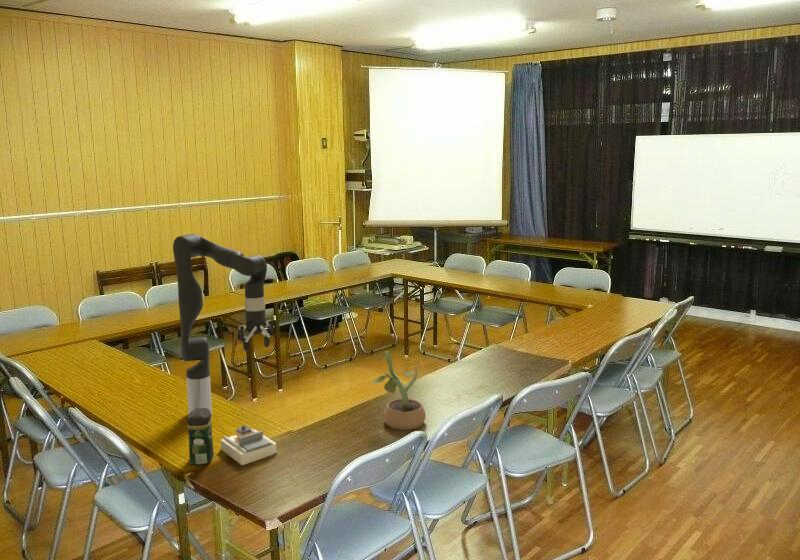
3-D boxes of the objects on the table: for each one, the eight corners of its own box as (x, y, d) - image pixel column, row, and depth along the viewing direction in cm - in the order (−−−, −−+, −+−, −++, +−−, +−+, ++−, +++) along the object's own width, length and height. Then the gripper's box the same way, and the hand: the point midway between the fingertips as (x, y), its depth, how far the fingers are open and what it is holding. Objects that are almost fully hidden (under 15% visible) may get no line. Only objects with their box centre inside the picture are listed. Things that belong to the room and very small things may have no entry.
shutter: (239, 445, 245) (238, 437, 245) (261, 438, 251) (261, 430, 250) (247, 451, 241) (247, 443, 240) (270, 444, 246) (270, 436, 246)
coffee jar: (193, 454, 248) (190, 406, 244) (215, 453, 249) (212, 405, 245) (187, 466, 239) (183, 416, 235) (210, 465, 239) (207, 416, 235)
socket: (221, 449, 252) (220, 437, 251) (255, 439, 261) (254, 427, 260) (241, 465, 240) (241, 452, 239) (276, 453, 249) (276, 441, 248)
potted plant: (426, 414, 285) (427, 345, 279) (424, 432, 267) (425, 359, 261) (372, 412, 286) (372, 344, 280) (367, 430, 269) (366, 357, 263)
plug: (237, 448, 253) (236, 425, 251) (247, 445, 255) (245, 422, 253) (242, 452, 250) (241, 429, 248) (252, 449, 252) (251, 426, 250)
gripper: (242, 312, 252) (244, 354, 256) (276, 306, 261) (277, 347, 265) (233, 309, 258) (235, 350, 261) (266, 303, 267) (268, 343, 270)
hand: (256, 348), depth 263 cm, fingers open, 8 cm apart
